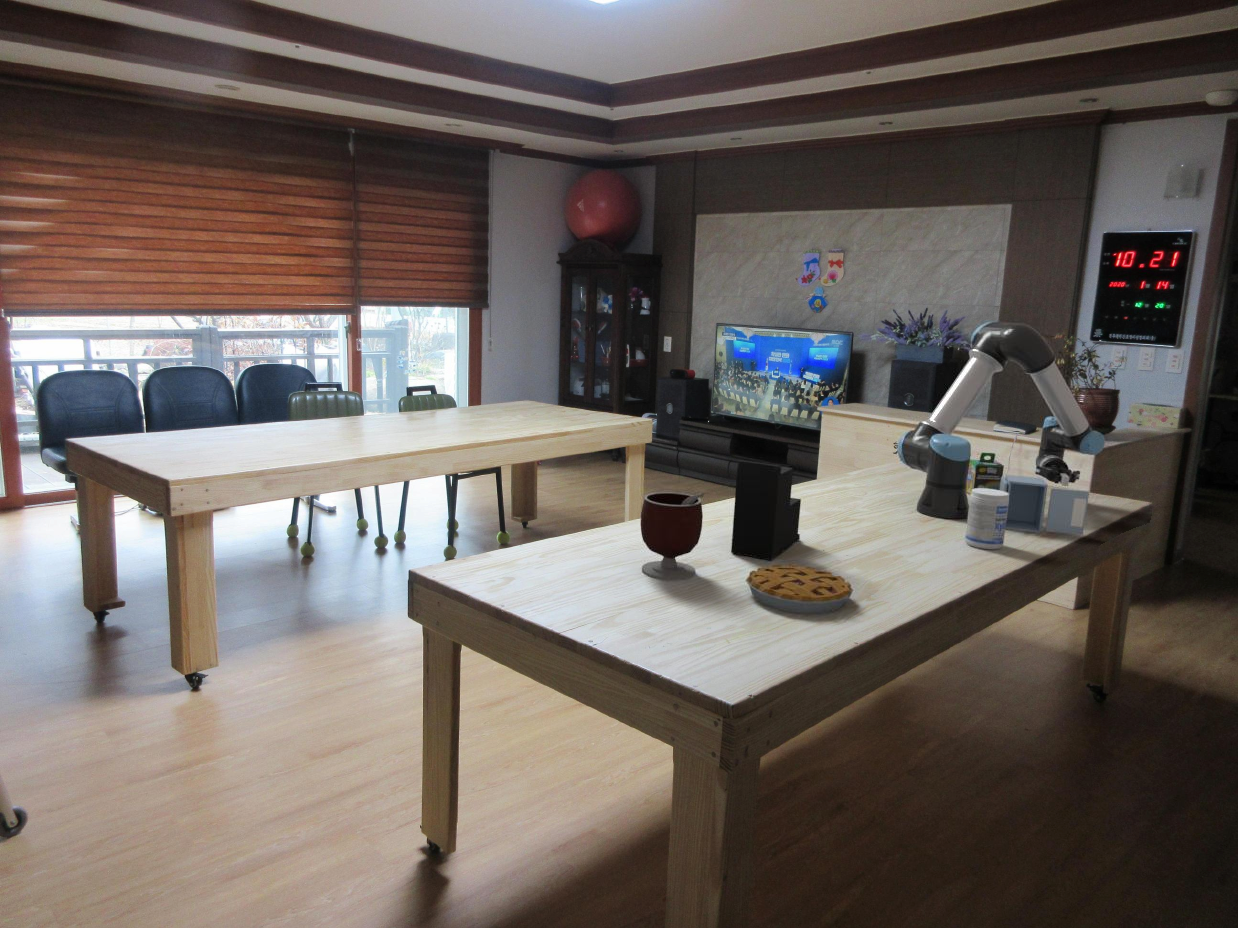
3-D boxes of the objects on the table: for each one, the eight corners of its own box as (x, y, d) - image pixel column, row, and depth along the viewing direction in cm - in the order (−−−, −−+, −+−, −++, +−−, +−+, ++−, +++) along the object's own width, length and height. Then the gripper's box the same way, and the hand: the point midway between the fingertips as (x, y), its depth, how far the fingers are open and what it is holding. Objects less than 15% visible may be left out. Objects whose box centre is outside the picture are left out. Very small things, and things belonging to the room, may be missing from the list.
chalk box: (992, 493, 303) (997, 450, 300) (1000, 499, 294) (1006, 455, 291) (964, 491, 304) (969, 449, 301) (972, 497, 295) (977, 453, 292)
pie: (800, 624, 174) (802, 600, 173) (724, 591, 191) (726, 569, 190) (872, 605, 186) (874, 583, 185) (795, 576, 204) (796, 555, 203)
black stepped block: (761, 533, 238) (768, 447, 234) (800, 540, 233) (808, 452, 229) (729, 554, 218) (736, 460, 214) (772, 562, 213) (779, 466, 209)
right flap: (1046, 531, 251) (1052, 488, 249) (1045, 530, 252) (1051, 487, 250) (1082, 534, 249) (1089, 491, 247) (1082, 533, 250) (1088, 491, 248)
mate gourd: (625, 569, 202) (629, 484, 198) (666, 558, 212) (671, 476, 208) (676, 587, 191) (681, 497, 187) (717, 575, 201) (723, 489, 197)
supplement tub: (1000, 552, 230) (1007, 497, 227) (961, 546, 235) (968, 492, 232) (1004, 544, 238) (1011, 491, 236) (967, 538, 243) (974, 485, 240)
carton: (998, 528, 255) (1005, 480, 253) (995, 520, 265) (1001, 474, 262) (1040, 532, 252) (1047, 484, 250) (1035, 524, 262) (1042, 478, 259)
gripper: (1074, 482, 284) (1088, 496, 261) (1030, 477, 287) (1040, 490, 265) (1078, 459, 282) (1092, 471, 260) (1033, 454, 286) (1044, 466, 264)
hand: (1066, 481), depth 263 cm, fingers closed
